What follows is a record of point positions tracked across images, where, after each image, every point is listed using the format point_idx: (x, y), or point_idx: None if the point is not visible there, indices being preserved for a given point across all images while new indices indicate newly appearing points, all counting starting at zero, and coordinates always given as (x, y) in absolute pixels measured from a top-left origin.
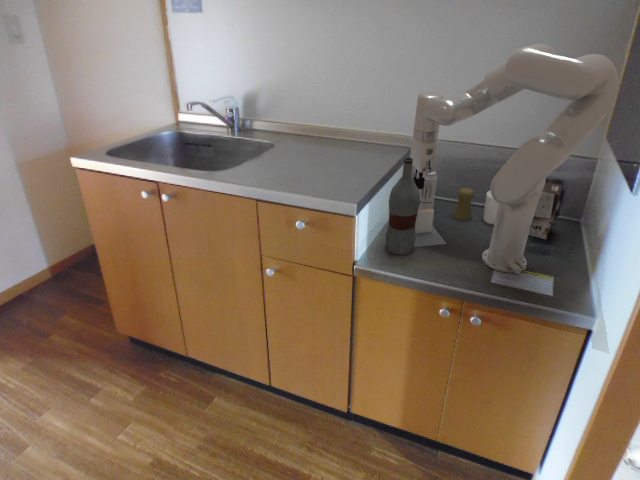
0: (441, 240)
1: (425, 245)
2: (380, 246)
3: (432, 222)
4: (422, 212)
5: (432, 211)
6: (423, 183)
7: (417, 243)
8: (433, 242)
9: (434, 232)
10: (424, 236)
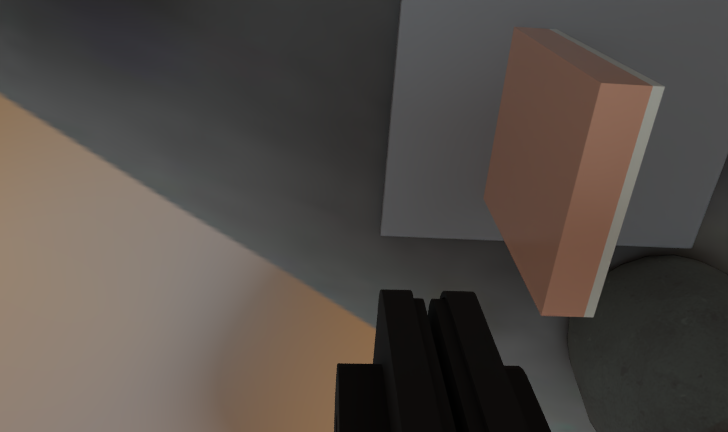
0: (722, 6)
1: (716, 167)
2: (570, 403)
3: (594, 51)
4: (615, 224)
5: (654, 107)
6: (499, 375)
7: (663, 210)
8: (714, 90)
9: (577, 4)
10: None
